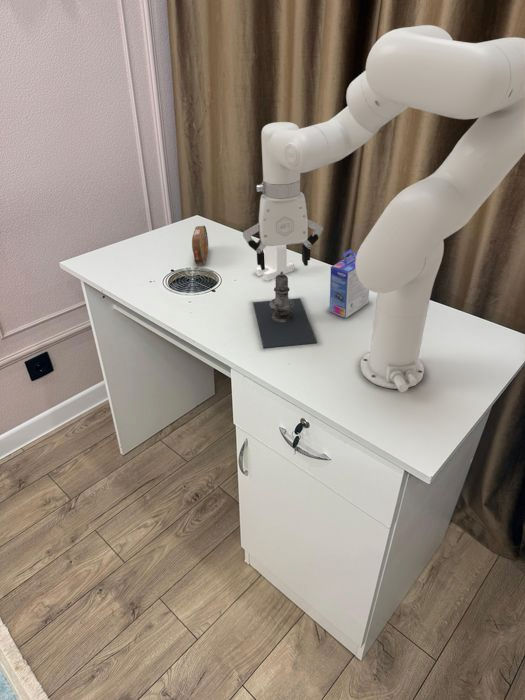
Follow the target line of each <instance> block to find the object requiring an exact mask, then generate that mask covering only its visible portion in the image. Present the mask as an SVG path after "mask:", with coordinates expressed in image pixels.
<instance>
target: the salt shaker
mask: <svg viewBox="0 0 525 700" xmlns="http://www.w3.org/2000/svg"><path fill="white" fill-rule="evenodd" d="M274 281H275V287H273V291H274V298H273V299H271V300H269V301H270V303H269V305H270V307H271V310H272V312H273V313H272V314H271V319H272V320H274V321H276V322H288V321H290V320H291V319H292V318H293V315H292V314H291V313H290V312H291V311H292V309H293V306H294V302H293V301H292V300H291V299H292V298H289V292H290V287H289V277H288V275H286V274H283V272H282V271H281V273H280V274H279V275H277V276H276V278H274Z"/></svg>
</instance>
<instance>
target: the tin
mask: <svg viewBox="0 0 525 700" xmlns="http://www.w3.org/2000/svg"><path fill="white" fill-rule="evenodd" d="M191 249H192V253H193V259H194V263H195V265H197V266H198V265H206V263H207V259H208V254H209V238H208V232H207V227H206V226H205V225H197V226H195V228H194V231H193V235H192V238H191Z"/></svg>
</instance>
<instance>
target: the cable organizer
mask: <svg viewBox="0 0 525 700" xmlns="http://www.w3.org/2000/svg"><path fill="white" fill-rule="evenodd" d="M263 250H264V260H265V269H264V270H262V269H261V266H260V265H258V266H256V268H255V274H256V276H257V277H261V276H263V277H262V279H263V280H264V281H272V280H275V279H276V276H277V275H279V274H280V273H281V271H282V272H283V274H284V275H286V274H288V273H292V272H293V271H294V270H295V265H294V264H295V263H294V262H292V261H288V262H287V257H288V255H287V254H288V253H287V245H277V246H266V247H265V248H264V249H263Z"/></svg>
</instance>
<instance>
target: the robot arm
mask: <svg viewBox="0 0 525 700" xmlns="http://www.w3.org/2000/svg"><path fill="white" fill-rule="evenodd" d="M365 62H366V63H365V70H363V72H361V74H359V75H358V76H357V77H355V78H354V79H353V80H352V81H351V82H350V83H349V85H348V87H347V89H346V94H345V99H346V105H347V106H346V107H345V108H343V109H342V110H341V111H339V112H338V113H337V114H336V115H334V116H333V117H332V118H330V119H329V120H327V121H324V122H319V123H316V124H313V125H309V126H306V127H301V128H300V127H299V125H298V124H296V123H293V122H291V121H290V122H289V121H278V122H271V123H268V124H265V125H264V126H263V127H262V130H261V132H260V133H261V135H260V138H261V139H260V140H261V157H262V158H261V159H262V160H261V161H262V182H261V183H259V184H256V192H257V193H259V192H260V193H262V194H261V195H260V200H259V209H258V222H257V223H255V224H254V225H252V226H251V227H249V228H247V229H246V230H244V231H243V232H242V236H243V238H244V240H245V242H246V243H247V245H248V247H250V248H251V249H253V250H254V252H256V264H257V266H261V269H262V270H264V269H265V251H264V250H265V249H264V248H265V247H266V246H277V245H286V246H288V245H296V244H302V245H301V261H302V263H303V265H304V266H305V267H307V266H309V261H311V249H312V247H313V246H314V244H315V243H317V241H318V240H319V237H320V236H321V234H322V232H323V230H324V227H323V225H322V224H320V223H318V222H316V221H313V220H310V219H308V211H307V209H308V208H307V203H306V197H305V194H304V193H303V192H302V191H301V174H303V173H309V172H311V171H314V170H316V169H317V170H318V169H320V168H322V167H325V166H329V165H331V164H334V163H337V162H339V161H341V160H343V159H345V158H346V157H348V156H349V155H350V154H352V153H354V152H355V151H356V150H358V149H360V148H361V147H362V146H363V145H365V144H366V143H367V142H368V141H370V140H371V139H372V138H373V137H374V136H376V134H377V133H378V132H379V131H380V129H381V128H382V127H384V126H385V125H386V124H387V123H389V122H390V121H392V120H393V119H394V118H396V117H397V116H398V115H400V114H401V113H403V112H404V111H406V110H407V109H408V108H411V109H415V110H418V111H423V112H427V113H431V114H434V115H438V116H443V117H446V118H449V119H455V120H456V119H457V120H474V119H476V121H475V122H474V123H473V124H472V125H471V126H470V127H469V128H468V129H467V131H466V132H465V133H464V134H463V135H462V136H461V138H460V139H459V140H458V141H457V143H456V144H455V146H454V147H453V149H452V151H451V152H450V153H449V154H448V156H446V158H445V160H444V161H443V162H442V164H441V165H440V166H439V167H438V168H437V169H436V170H435V171H434V172H433V173H432V174H430V175H429V176H427V177H425V178H424V179H421V180H419V181H416V182H414V183H413V184H411V185H409V186H407V187H405V188H404V189H402V190H401V191H400V192H399V193H398V194H396V196H394V197H393V198H392V200H391V201H390V202H389V204H388V205H387V206H386V207H385V209H384V211H383V212H382V213H381V215H380V216H379V217H378V219H377V220H376V222H375V223H374V225H373V226H372V228H371V230H370V231H369V232H368V234H367V235H366V237H365V239H364V240H363V241H362V243H361V244H360V246H359V249H358V250H357V253H356V254H357V256H356V261H355V268H356V274H357V277H358V279H359V281H360V282H361V284H362V285H363V286H364V287H365V288H367V289H368V290H369V292H372V293H377V294H376V301H375V309H374V316H373V324H372V333H371V341H370V350H369V352H367V353H365V355H364V356H363V357H362V359H361V361H360V371H361V373H362V374H363V377H365V378H366V379H367V380H368V381H370V383H372V384H374V385H377V386H379V387H382V388H387V389H394V390H398V392H400V393H405V392H407V391H408V390H409V388H411V387H414V386H416V385H417V384H419V383H420V382H421V381H422V380H423V378H424V373H425V366H424V365H423V363H422V361H421V360H420V359H419V357H420V352H421V347H422V342H423V336H424V331H425V325H426V321H427V317H428V316H427V315H428V311H429V306H430V300H431V297H432V292H433V287H434V284H435V280H436V277H437V275H438V273H439V270H440V266H441V264H442V261H443V260H442V259H443V256H444V250H445V242H444V240H445V239H447V238H449V237H450V236H452V235H453V234H455V233H456V232H458V231H459V230H461V229H462V228H463V227H465V226H466V225H467V224H468V223H469V222H470V221H471V219H472V218H473V216H474V215H475V214H476V213H477V211H478V210H479V209H480V207H482V205H483V204H484V203H485V201H487V199H488V198H489V197H490V196H491V195H492V193H493V192H494V191H495V190H496V188H497V187H498V186H499V185H500V184H501V183H502V181H503V180H504V178H505V177H506V176H507V175H508V174H509V173H510V171H511V170H512V169H513V168H514V166H516V164H517V163H518V162H519V161H520V160H521V158H522V157H523V156H524V155H525V38H523V37H503V38H498V39H492V40H487V41H482V42H466V41H459V40H453V38H452V36H451V34H449V32H447V31H446V30H445V29H443V28H441V27H440V26H436V25H432V24H423V25H416V26H415V25H414V26H410V27H409V26H407V27H399V28H396V29H395V28H394V29H392V30H390V31H388V32H386V33H385V34H383V35H381V37H379V38H378V39H377V40H376V42H374V44H373V45H372V47H371V49H370V51H369V53H368V55H367V58H366V61H365ZM309 229H312V230H313V232H312V233H311V234H310V235H309ZM257 233H258V234H259V235H258V236H259V239H258V240H257V241H256V240H254V239H253V237H252V236H253V235H255V234H257Z"/></svg>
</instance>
